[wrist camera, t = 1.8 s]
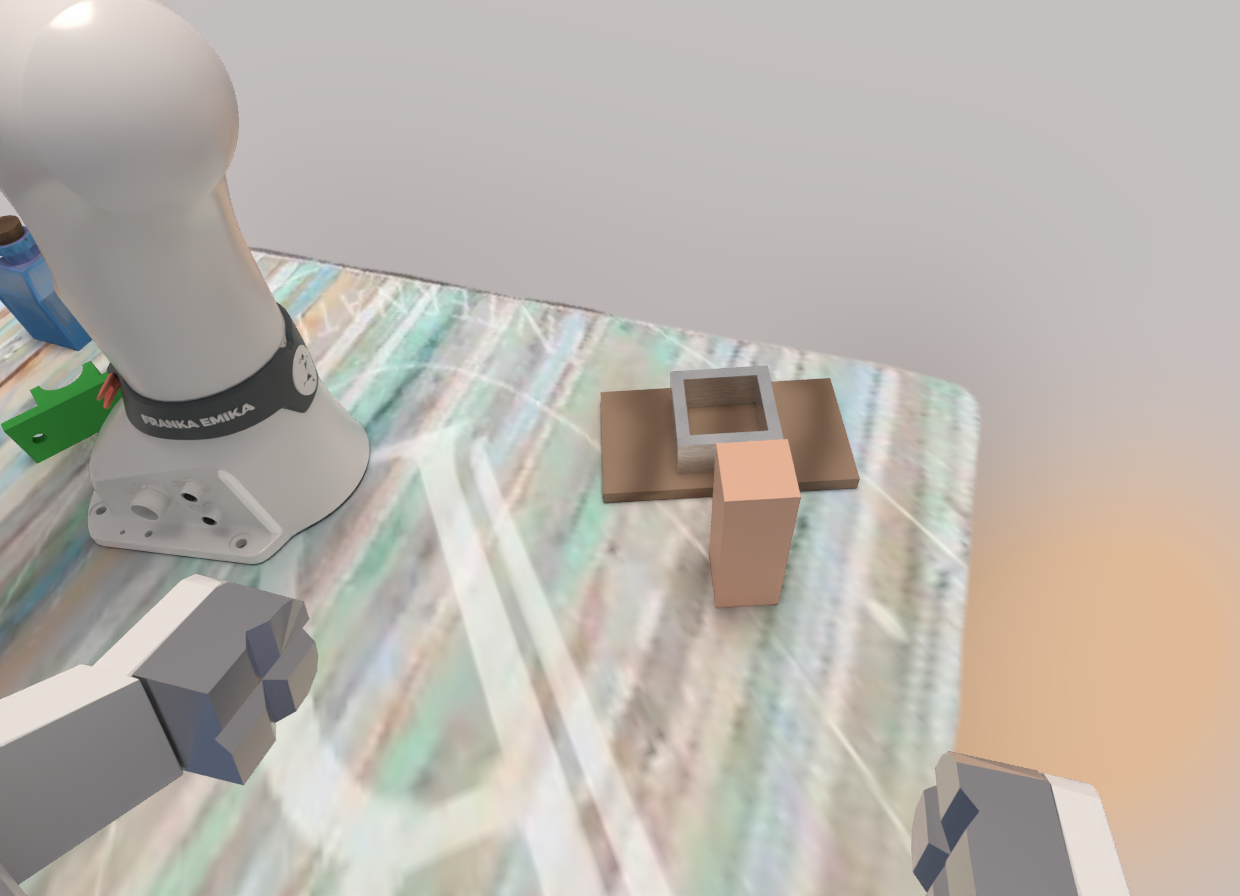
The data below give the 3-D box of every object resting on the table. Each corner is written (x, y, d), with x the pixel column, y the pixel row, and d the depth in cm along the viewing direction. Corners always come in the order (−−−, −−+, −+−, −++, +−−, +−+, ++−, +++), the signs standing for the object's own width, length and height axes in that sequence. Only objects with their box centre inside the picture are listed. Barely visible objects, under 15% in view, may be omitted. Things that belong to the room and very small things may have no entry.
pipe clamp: (150, 380, 73) (124, 344, 69) (164, 400, 71) (137, 365, 67) (27, 441, 68) (-8, 406, 65) (38, 464, 66) (2, 430, 63)
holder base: (603, 502, 60) (602, 493, 59) (601, 401, 67) (600, 392, 66) (856, 487, 60) (859, 478, 59) (827, 387, 67) (830, 378, 66)
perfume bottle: (80, 301, 81) (3, 201, 72) (124, 312, 79) (51, 211, 70) (34, 338, 77) (-53, 239, 68) (79, 351, 76) (-4, 250, 66)
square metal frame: (677, 474, 60) (678, 446, 57) (670, 400, 65) (670, 371, 62) (778, 468, 60) (783, 439, 57) (763, 394, 65) (767, 365, 62)
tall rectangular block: (715, 607, 54) (724, 501, 44) (709, 554, 57) (716, 443, 47) (777, 604, 54) (800, 497, 44) (768, 551, 56) (787, 438, 46)
